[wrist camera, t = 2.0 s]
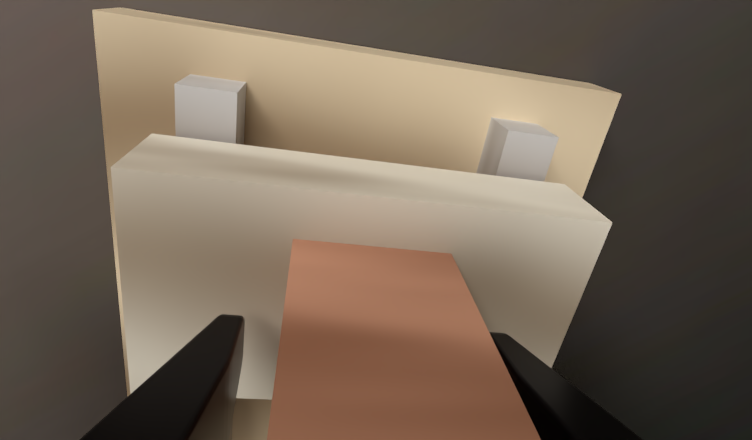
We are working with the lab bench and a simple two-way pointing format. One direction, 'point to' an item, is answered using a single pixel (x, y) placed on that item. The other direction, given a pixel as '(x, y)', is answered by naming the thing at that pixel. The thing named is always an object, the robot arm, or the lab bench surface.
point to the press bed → (335, 110)
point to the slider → (351, 282)
